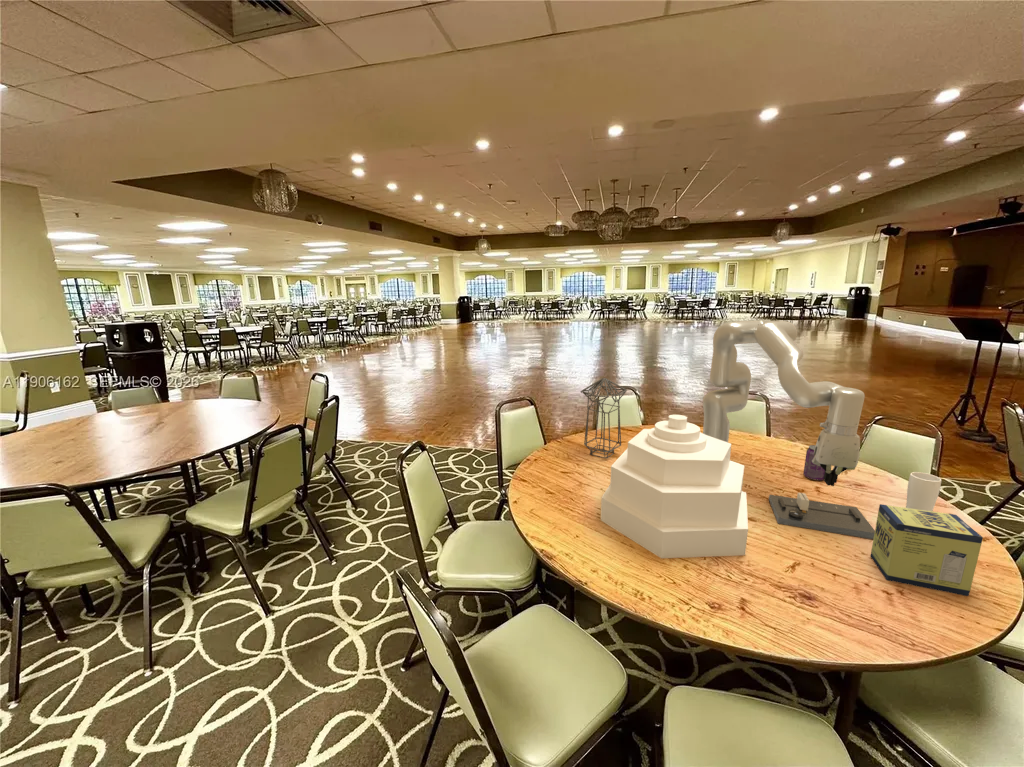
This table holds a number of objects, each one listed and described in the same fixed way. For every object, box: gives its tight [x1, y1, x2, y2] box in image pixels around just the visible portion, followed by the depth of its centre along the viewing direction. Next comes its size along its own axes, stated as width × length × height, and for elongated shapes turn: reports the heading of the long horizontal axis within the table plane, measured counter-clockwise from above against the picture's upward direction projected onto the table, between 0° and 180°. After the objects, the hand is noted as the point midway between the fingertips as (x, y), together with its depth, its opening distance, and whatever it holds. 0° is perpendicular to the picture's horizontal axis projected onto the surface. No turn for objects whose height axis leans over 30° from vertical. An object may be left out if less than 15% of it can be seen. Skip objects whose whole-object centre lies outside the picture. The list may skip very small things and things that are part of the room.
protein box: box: [870, 503, 984, 597], centre depth 101 cm, size 10×16×16 cm
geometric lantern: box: [580, 377, 628, 459], centre depth 180 cm, size 16×16×35 cm
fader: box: [796, 492, 810, 511], centre depth 131 cm, size 2×5×4 cm, turn 157°
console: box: [768, 494, 875, 540], centre depth 129 cm, size 24×16×3 cm, turn 67°
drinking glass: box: [905, 471, 942, 512], centre depth 124 cm, size 7×7×15 cm
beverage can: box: [803, 444, 825, 481], centre depth 156 cm, size 7×7×12 cm
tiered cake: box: [600, 414, 749, 559], centre depth 127 cm, size 44×45×34 cm
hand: (829, 483), depth 128 cm, fingers closed
